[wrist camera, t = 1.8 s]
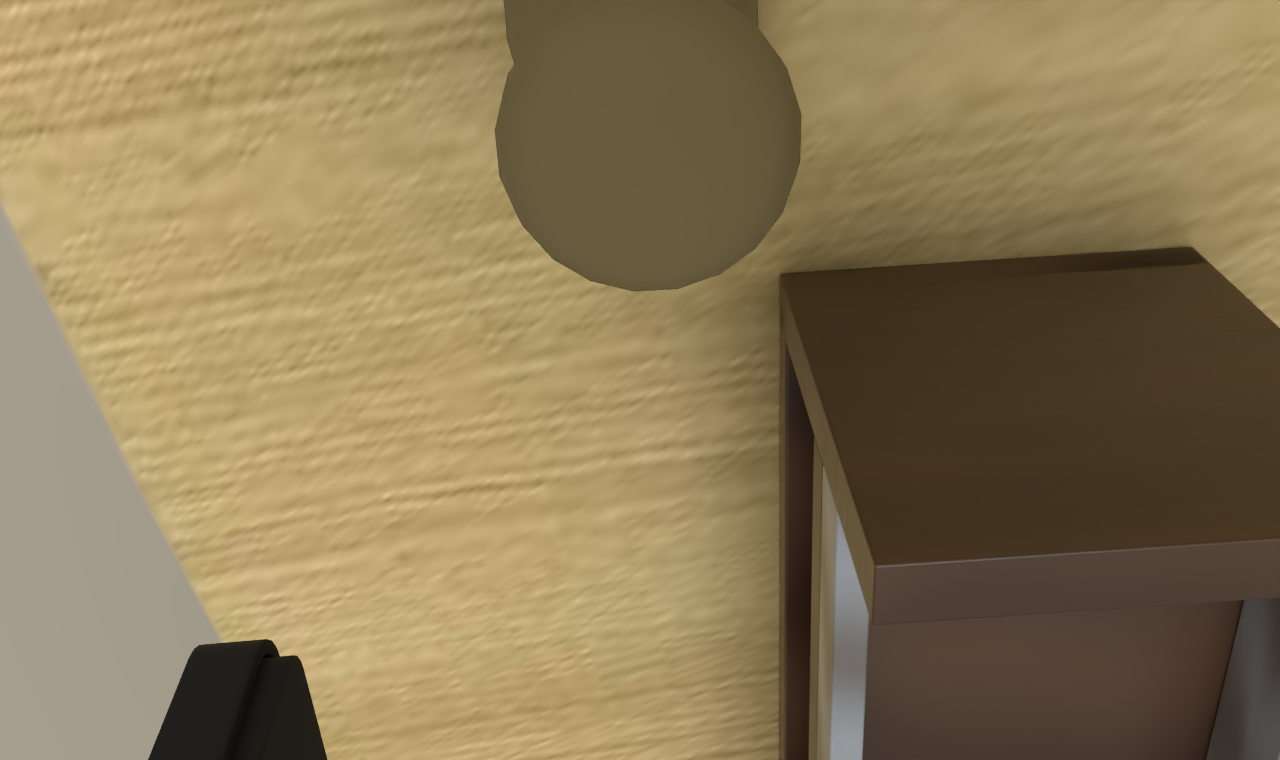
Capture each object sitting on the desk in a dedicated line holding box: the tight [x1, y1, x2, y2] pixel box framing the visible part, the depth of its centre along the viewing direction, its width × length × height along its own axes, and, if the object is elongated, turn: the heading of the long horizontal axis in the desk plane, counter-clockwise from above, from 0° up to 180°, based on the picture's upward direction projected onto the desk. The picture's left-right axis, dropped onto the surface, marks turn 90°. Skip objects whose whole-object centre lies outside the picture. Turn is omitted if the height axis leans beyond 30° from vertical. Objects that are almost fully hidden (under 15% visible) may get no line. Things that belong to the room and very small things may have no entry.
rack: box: [779, 247, 1280, 760], centre depth 33 cm, size 22×11×12 cm, turn 3°
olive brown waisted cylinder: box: [495, 0, 801, 291], centre depth 24 cm, size 6×6×11 cm
